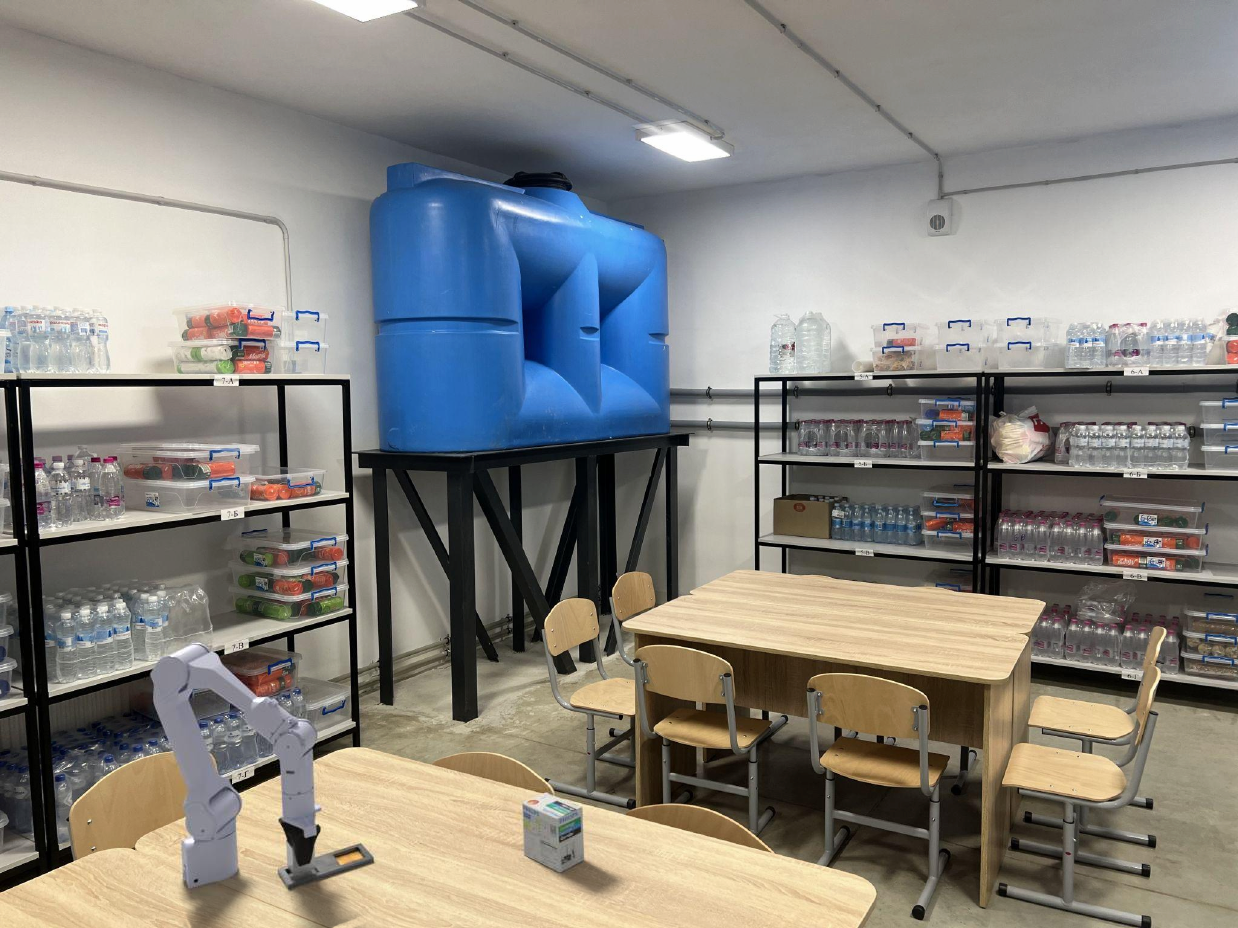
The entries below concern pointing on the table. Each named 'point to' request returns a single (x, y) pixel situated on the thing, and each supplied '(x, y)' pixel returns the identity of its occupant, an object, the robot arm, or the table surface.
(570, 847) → the light bulb box
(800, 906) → the table surface
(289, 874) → the dark gray slotted base
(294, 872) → the grey square block
